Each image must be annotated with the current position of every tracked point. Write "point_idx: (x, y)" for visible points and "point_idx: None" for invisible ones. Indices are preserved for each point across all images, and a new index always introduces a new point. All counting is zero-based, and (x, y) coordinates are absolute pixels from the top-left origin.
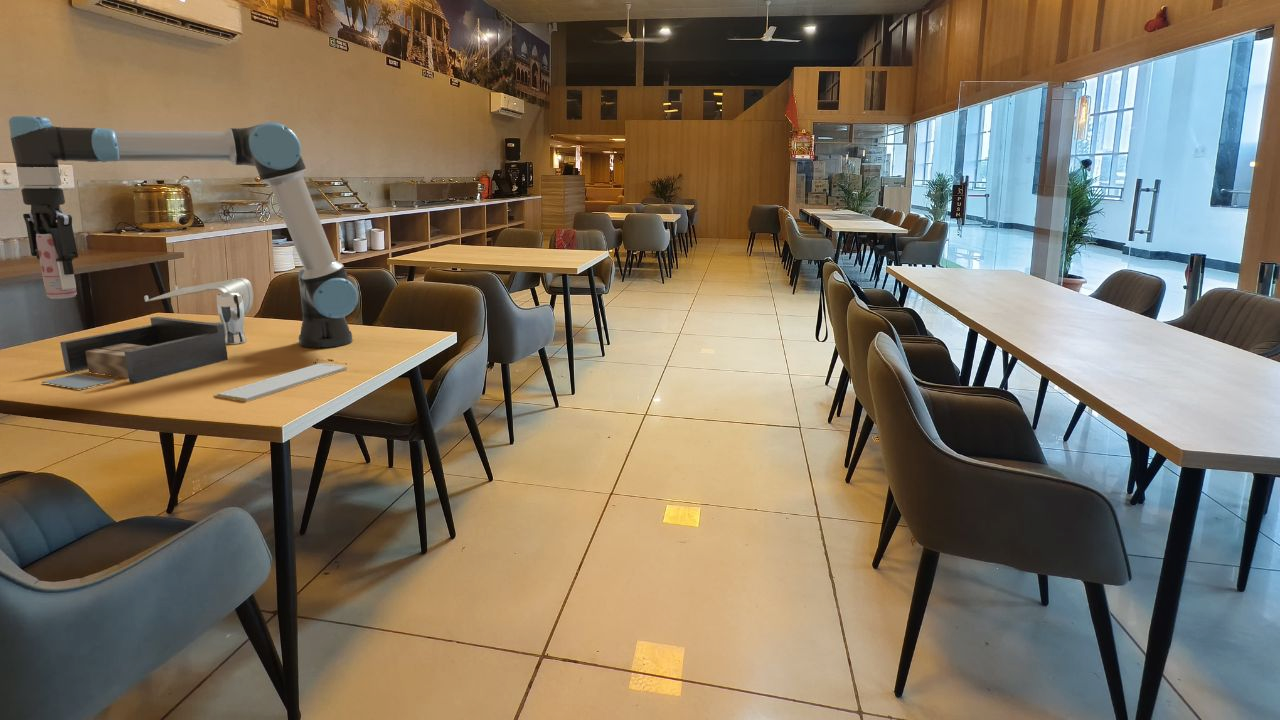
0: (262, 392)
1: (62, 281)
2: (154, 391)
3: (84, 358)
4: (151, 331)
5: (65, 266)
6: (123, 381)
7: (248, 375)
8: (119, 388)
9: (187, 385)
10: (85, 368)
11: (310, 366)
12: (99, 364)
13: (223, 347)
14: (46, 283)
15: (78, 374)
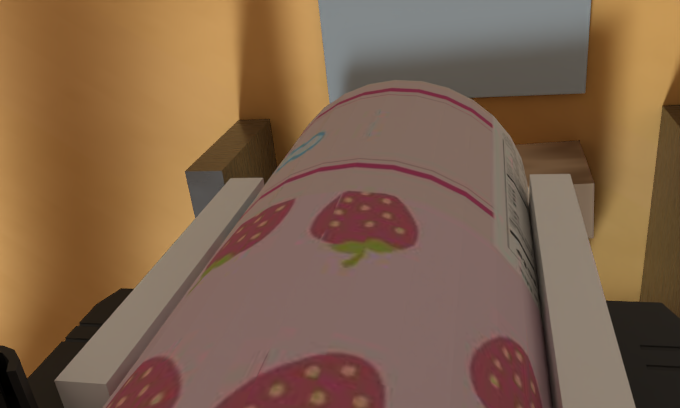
0: None
1: (199, 216)
2: (81, 87)
3: (667, 194)
4: None
5: (61, 358)
6: (311, 121)
7: (55, 327)
8: (220, 53)
9: (76, 182)
10: (656, 170)
11: None
12: None
13: None
14: (373, 130)
15: (565, 90)
